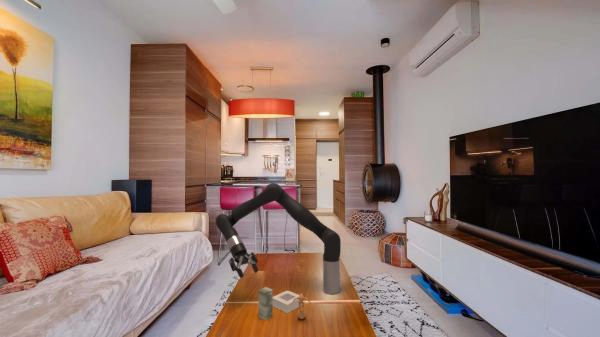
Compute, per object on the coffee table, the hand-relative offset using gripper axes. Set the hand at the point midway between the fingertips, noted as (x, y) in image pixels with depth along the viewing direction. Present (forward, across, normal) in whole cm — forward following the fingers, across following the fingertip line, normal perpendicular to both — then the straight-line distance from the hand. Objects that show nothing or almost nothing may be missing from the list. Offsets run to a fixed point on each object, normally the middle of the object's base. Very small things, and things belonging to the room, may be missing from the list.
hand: (249, 274), depth 126 cm
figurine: (+30, +9, -7) cm, 32 cm away
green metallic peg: (+20, 0, +3) cm, 20 cm away
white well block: (+20, +14, +3) cm, 24 cm away
